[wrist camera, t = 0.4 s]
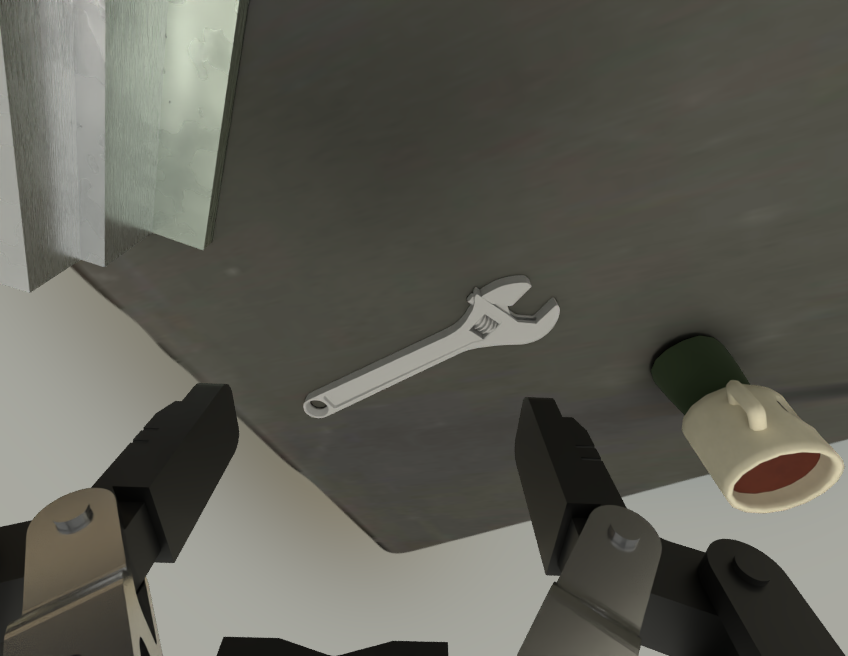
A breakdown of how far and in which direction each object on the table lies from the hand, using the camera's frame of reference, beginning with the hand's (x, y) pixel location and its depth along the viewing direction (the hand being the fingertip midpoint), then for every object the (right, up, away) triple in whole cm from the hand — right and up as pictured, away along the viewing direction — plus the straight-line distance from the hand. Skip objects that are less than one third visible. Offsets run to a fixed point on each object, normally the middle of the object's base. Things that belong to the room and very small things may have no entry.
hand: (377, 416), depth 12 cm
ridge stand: (-17, +18, +14) cm, 28 cm away
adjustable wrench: (+1, +1, +27) cm, 27 cm away
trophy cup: (+25, 0, +27) cm, 37 cm away
